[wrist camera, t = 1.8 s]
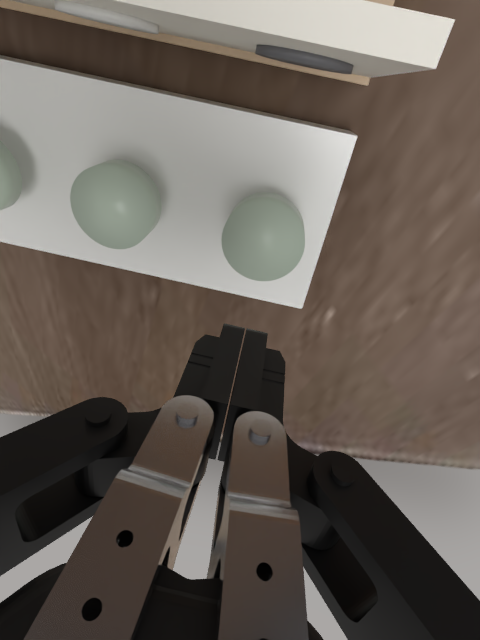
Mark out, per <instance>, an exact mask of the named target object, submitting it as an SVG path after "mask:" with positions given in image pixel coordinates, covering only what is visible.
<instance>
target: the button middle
mask: <svg viewBox="0 0 480 640" xmlns="http://www.w3.org/2000/svg"><path fill="white" fill-rule="evenodd" d="M70 203H71V208H72V212H73V215H74V217H75V219H76V221H77V223H78V224H79V226H80V227H81V229H82V230H83V231H84V232H85V233H86V234H87V235H88V236H89V237H90V238H91V239H92V240H94V241H95V242H97V243H99V244H101V245H103V246H105V247H108V248H112V249H127V248H131V247H133V246H135V245H137V244H139V243H140V242H141V241H142V240H143V239H144V238H145V237H146V236H147V235H148V234H149V233H150V232H151V231H152V230H153V229H154V228H155V227H156V225H157V224H158V222H159V219H160V216H161V211H162V203H161V197H160V193H159V191H158V188H157V186H156V184H155V183H154V181H153V180H152V178H151V177H150V176H149V175H148V174H147V173H146V172H145V171H144V170H143V169H142V168H140V167H139V166H137V165H135V164H133V163H131V162H129V161H125V160H119V159H114V160H108V161H105V162H103V163H100V164H97V165H95V166H92V167H90V168H87V169H85V170H84V171H82V172H81V173H80V174H79V175H78V176H77V177H76V179H75V180H74V182H73V185H72V188H71V193H70Z"/></svg>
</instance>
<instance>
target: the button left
mask: <svg viewBox="0 0 480 640" xmlns="http://www.w3.org/2000/svg"><path fill="white" fill-rule="evenodd" d="M21 191H22V177H21V172H20V169H19V167H18V164H17V162H16V160H15V158H14V157H13V155H12V154H11V152H10V151H9V150H8V148H7V147H6V146H5V145H4V144H3V143H2V142H1V141H0V210H3V209H5V208H8V207H10V206H12V205H13V204H14V203H16V201H17V200H18V199H19V197H20V194H21Z"/></svg>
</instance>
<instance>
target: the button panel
mask: <svg viewBox="0 0 480 640" xmlns="http://www.w3.org/2000/svg"><path fill="white" fill-rule="evenodd" d="M356 139H357V135H356V134H354V133H353V132H352V131H349V130H345V129H340V128H335V127H331V126H326V125H321V124H317V123H312V122H308V121H303V120H298V119H294V118H289V117H284V116H280V115H275V114H271V113H266V112H261V111H257V110H252V109H248V108H243V107H238V106H234V105H229V104H224V103H220V102H215V101H211V100H206V99H201V98H197V97H192V96H187V95H183V94H178V93H174V92H169V91H164V90H160V89H155V88H151V87H146V86H141V85H137V84H132V83H127V82H123V81H118V80H114V79H109V78H104V77H100V76H95V75H90V74H86V73H81V72H77V71H72V70H67V69H63V68H58V67H53V66H49V65H44V64H40V63H35V62H30V61H26V60H21V59H17V58H12V57H7V56H3V55H0V141H1V142H2V143H3V144H4V145H5V146H6V147H7V148H8V150H9V151H10V152H11V154H12V155H13V157H14V158H15V160H16V162H17V164H18V167H19V169H20V172H21V177H22V191H21V194H20V197H19V199H18V200H17V201H16V203H14V204H13V205H12V206H10V207H8V208H5V209H3V210H0V242H4V243H9V244H13V245H18V246H22V247H27V248H31V249H36V250H40V251H45V252H49V253H54V254H58V255H63V256H67V257H72V258H76V259H81V260H85V261H89V262H94V263H98V264H103V265H107V266H112V267H116V268H121V269H125V270H130V271H134V272H139V273H143V274H148V275H152V276H157V277H161V278H166V279H170V280H174V281H179V282H183V283H188V284H192V285H197V286H201V287H206V288H210V289H215V290H219V291H224V292H228V293H233V294H237V295H242V296H246V297H251V298H255V299H259V300H264V301H268V302H273V303H277V304H282V305H286V306H291V307H295V308H300V309H302V307H303V304H304V301H305V298H306V295H307V292H308V288H309V285H310V282H311V279H312V276H313V273H314V270H315V267H316V264H317V260H318V257H319V254H320V251H321V248H322V245H323V242H324V239H325V236H326V233H327V229H328V226H329V223H330V220H331V217H332V214H333V211H334V208H335V205H336V201H337V198H338V195H339V192H340V189H341V186H342V183H343V180H344V177H345V174H346V170H347V167H348V164H349V161H350V158H351V155H352V152H353V149H354V146H355V142H356ZM114 159H119V160H125V161H129V162H131V163H133V164H135V165H137V166H139V167H140V168H142V169H143V170H144V171H145V172H146V173H147V174H148V175H149V176H150V177H151V178H152V180H153V181H154V183H155V184H156V186H157V188H158V191H159V193H160V197H161V203H162V211H161V216H160V219H159V222H158V224H157V225H156V227H155V228H154V229H153V230H152V231H151V232H150V233H149V234H148V235H147V236H146V237H145V238H144V239H143V240H142V241H141V242H140V243H139V244H137V245H135V246H133V247H131V248H127V249H112V248H108V247H105V246H103V245H101V244H99V243H97V242H95V241H94V240H92V239H91V238H90V237H89V236H88V235H87V234H86V233H85V232H84V231H83V230H82V229H81V227H80V226H79V224H78V223H77V221H76V219H75V217H74V215H73V212H72V208H71V203H70V193H71V188H72V185H73V182H74V180H75V179H76V177H77V176H78V175H79V174H80V173H81V172H82V171H84V170H85V169H87V168H90V167H92V166H95V165H97V164H100V163H103V162H105V161H108V160H114ZM261 192H270V193H275V194H279V195H281V196H283V197H285V198H287V199H288V200H290V201H291V202H292V203H293V204H294V205H295V206H296V207H297V209H298V210H299V212H300V214H301V216H302V219H303V222H304V231H305V248H304V253H303V255H302V258H301V260H300V262H299V263H298V265H297V266H296V267H295V268H294V269H293V270H292V271H291V272H290V273H289V274H287V275H285V276H284V277H281V278H279V279H276V280H272V281H256V280H252V279H249V278H246V277H244V276H242V275H240V274H239V273H238V272H236V271H235V270H234V269H233V268H232V267H231V266H230V264H229V263H228V261H227V260H226V258H225V256H224V253H223V249H222V241H221V239H222V232H223V228H224V226H225V223H226V222H227V220H228V218H229V216H230V214H231V212H232V210H233V209H234V207H235V206H236V205H237V204H238V203H239V202H240V201H241V200H243V199H244V198H246V197H248V196H250V195H252V194H256V193H261Z"/></svg>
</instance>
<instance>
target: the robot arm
mask: <svg viewBox="0 0 480 640" xmlns="http://www.w3.org/2000/svg"><path fill="white" fill-rule="evenodd" d="M244 330H245V328H242V327H237V326H233V325H229V324H224V325H223V329H222V332H221V335H220V338H219V337H215V336H210V335H204V336H203V337H202V338H200V339H199V340H198V341H197V342H196V343H195V345H194V348H193V350H192V353H191V355H190V358H189V360H188V363H187V365H186V368H185V370H184V373H183V375H182V378H181V380H180V383H179V385H178V387H177V390H176V392H175V395H174V397H173V398H172V399H170V400H169V401H167V402H166V403H165V404H164V405H163V407H162V408H160V409H157V410H154V411H150V412H134V413H128V412H127V410H126V408H125V406H124V405H123V404H122V403H120V402H119V401H117V400H115V399H112V398H106V397H98V398H92V399H89V400H86V401H83V402H81V403H79V404H77V405H74V406H72V407H70V408H67V409H65V410H63V411H60V412H58V413H56V414H53V415H51V416H49V417H47V418H44V419H42V420H40V421H37V422H35V423H33V424H30V425H28V426H26V427H23V428H21V429H19V430H17V431H14V432H12V433H10V434H7V435H5V436H3V437H0V576H1V575H2V574H4V573H6V572H7V571H9V570H10V569H12V568H13V567H15V566H16V565H18V564H19V563H21V562H23V561H24V560H26V559H27V558H29V557H30V556H32V555H33V554H35V553H36V552H38V551H39V550H41V549H43V548H44V547H46V546H47V545H49V544H50V543H52V542H53V541H55V540H56V539H58V538H59V537H61V536H62V535H64V534H66V533H67V532H69V531H70V530H72V529H73V528H75V527H76V526H78V525H79V524H81V523H82V522H84V521H86V520H87V519H89V518H90V517H92V516H93V515H94V516H93V517H92V519H91V521H90V523H89V525H88V526H87V528H86V530H85V532H84V533H83V535H82V537H81V539H80V541H79V542H78V544H77V546H76V548H75V549H74V551H73V553H72V555H71V556H70V558H69V560H68V562H67V563H65V564H62V565H59V566H57V567H55V568H53V569H50V570H48V571H46V572H45V573H43V574H41V575H39V576H38V577H36V578H34V579H33V580H31V581H30V582H28V583H27V584H26V585H24V586H23V587H22V588H20V589H19V590H17V591H16V592H15V593H13V594H12V595H11V596H9V597H8V598H7V599H5V600H4V601H2V602H1V603H0V640H323V639H322V637H321V635H320V634H319V633H318V632H317V631H316V630H315V628H314V627H313V626H312V625H311V624H310V623H309V622H308V621H307V612H306V599H305V585H304V571H303V567H304V568H305V570H306V572H307V573H308V575H309V577H310V578H311V580H312V581H313V583H314V585H315V586H316V588H317V590H318V591H319V593H320V595H321V596H322V598H323V599H324V601H325V603H326V604H327V606H328V608H329V609H330V611H331V612H332V614H333V616H334V618H335V619H336V621H337V622H338V624H339V626H340V627H341V629H342V631H343V632H344V634H345V635H346V637H347V639H348V640H480V601H479V600H478V598H477V597H476V596H475V595H474V594H473V593H472V591H470V589H469V588H468V587H467V586H466V585H465V584H464V582H463V581H462V580H461V579H460V578H459V577H458V576H457V574H456V573H455V572H454V571H453V570H452V569H451V568H450V566H449V565H448V564H447V563H446V562H445V561H444V560H443V558H442V557H441V556H440V555H439V554H438V553H437V552H436V550H435V549H434V548H433V547H432V546H431V545H430V544H429V542H428V541H427V540H426V539H425V538H424V537H423V536H422V534H421V533H420V532H419V531H418V530H417V529H416V528H415V526H414V525H413V524H412V523H411V522H410V521H409V520H408V518H407V517H406V516H405V515H404V514H403V513H402V512H401V510H400V509H399V508H398V507H397V506H396V505H395V504H394V502H393V501H392V500H391V499H390V498H389V497H388V496H387V494H386V493H385V492H384V491H383V490H382V489H381V488H380V487H379V485H377V483H376V482H375V481H374V480H373V479H372V477H371V476H370V475H369V474H368V473H367V472H366V471H365V469H364V468H363V467H362V466H361V465H360V464H359V463H358V462H357V461H356V460H355V459H353V458H352V457H350V456H349V455H346V454H344V453H341V452H337V451H327V452H324V453H322V454H320V455H319V456H316V455H314V454H312V453H310V452H308V451H307V450H305V449H303V448H301V447H300V446H298V445H297V444H296V443H294V442H293V441H292V440H291V439H290V437H289V436H288V435H287V433H286V431H285V429H284V426H283V403H284V381H285V376H284V375H285V361H284V359H283V357H282V355H281V353H280V351H277V350H272V349H268V348H266V343H267V333H264V332H260V331H255V330H251V329H247V330H246V334H245V338H244V343H243V347H242V351H241V356H240V360H239V364H238V369H237V373H236V378H235V382H234V387H233V391H232V396H231V401H230V405H229V410H228V414H227V419H226V424H225V428H224V433H223V437H222V442H221V447H220V451H219V456H218V460H220V461H224V466H223V471H222V476H221V480H220V485H219V489H218V498H217V506H216V514H215V523H214V531H213V540H212V549H211V556H210V563H209V568H208V574H207V579H196V580H190V579H187V578H185V577H183V576H181V575H179V574H178V573H176V572H174V571H173V567H174V564H175V560H176V556H177V553H178V549H179V546H180V543H181V540H182V537H183V534H184V531H185V528H186V525H187V522H188V519H189V516H190V513H191V510H192V507H193V504H194V501H195V498H196V495H197V492H198V489H199V486H200V483H201V480H202V478H203V476H204V474H205V471H206V467H207V463H208V459H209V458H211V459H215V458H216V454H217V450H218V446H219V441H220V437H221V432H222V428H223V424H224V419H225V415H226V410H227V406H228V402H229V397H230V393H231V388H232V384H233V379H234V375H235V370H236V366H237V361H238V357H239V352H240V348H241V343H242V339H243V334H244Z"/></svg>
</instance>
